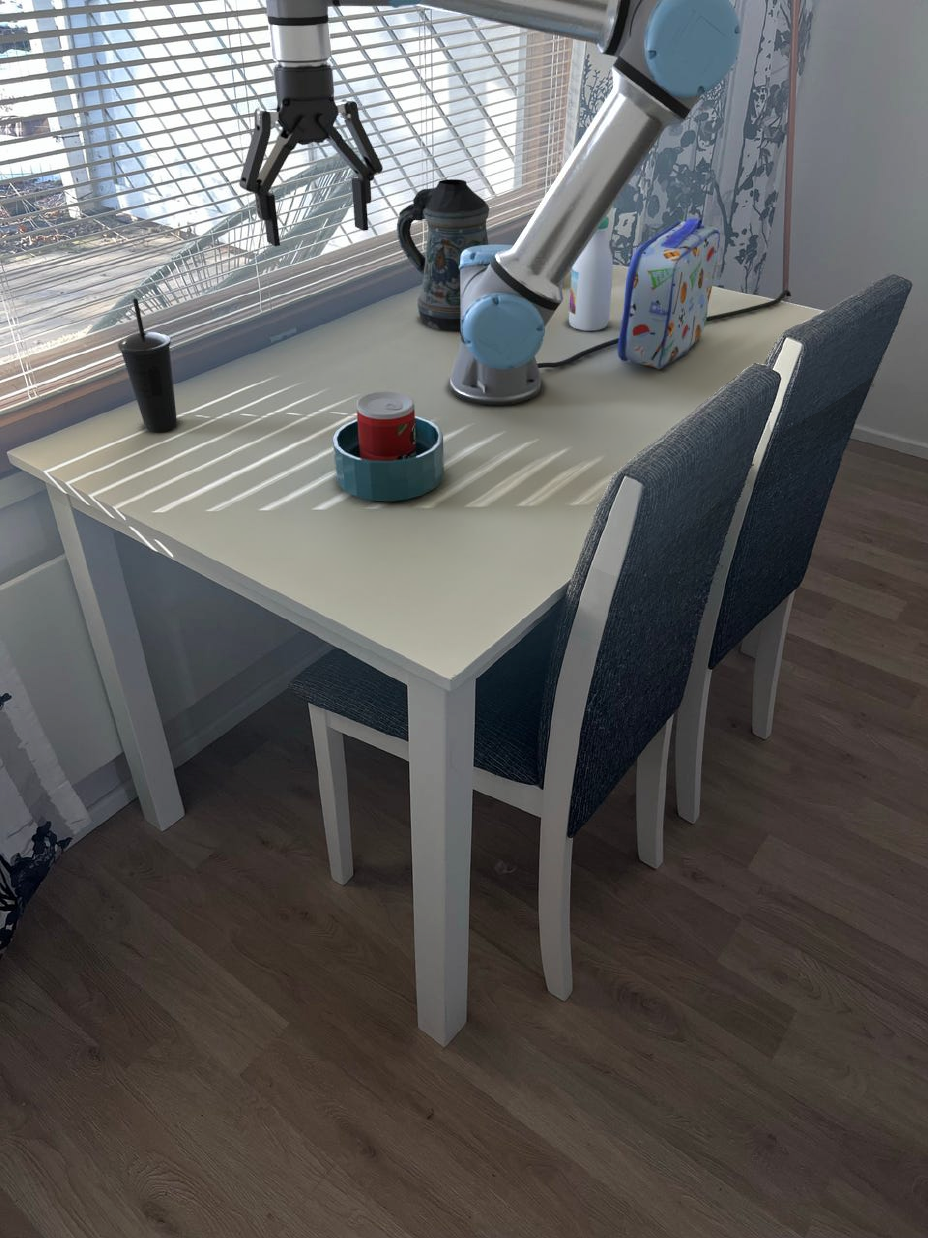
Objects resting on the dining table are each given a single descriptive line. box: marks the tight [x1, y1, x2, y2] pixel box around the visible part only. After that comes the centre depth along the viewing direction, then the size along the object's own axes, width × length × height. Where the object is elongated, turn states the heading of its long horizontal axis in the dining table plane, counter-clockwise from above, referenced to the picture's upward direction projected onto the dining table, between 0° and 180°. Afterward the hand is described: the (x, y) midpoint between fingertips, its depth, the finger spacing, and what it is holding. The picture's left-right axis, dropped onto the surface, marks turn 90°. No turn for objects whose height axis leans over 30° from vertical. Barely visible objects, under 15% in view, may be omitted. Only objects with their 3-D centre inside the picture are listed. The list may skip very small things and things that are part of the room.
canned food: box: [356, 391, 416, 461], centre depth 134 cm, size 8×8×11 cm
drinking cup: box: [117, 298, 178, 433], centre depth 146 cm, size 8×8×20 cm
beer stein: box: [396, 178, 490, 332], centre depth 183 cm, size 16×19×25 cm
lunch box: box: [617, 217, 721, 370], centre depth 170 cm, size 28×10×22 cm, turn 152°
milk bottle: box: [568, 215, 614, 332], centre depth 181 cm, size 8×8×20 cm
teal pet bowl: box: [332, 415, 445, 502], centre depth 136 cm, size 15×15×6 cm
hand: (318, 236), depth 135 cm, fingers open, 13 cm apart
